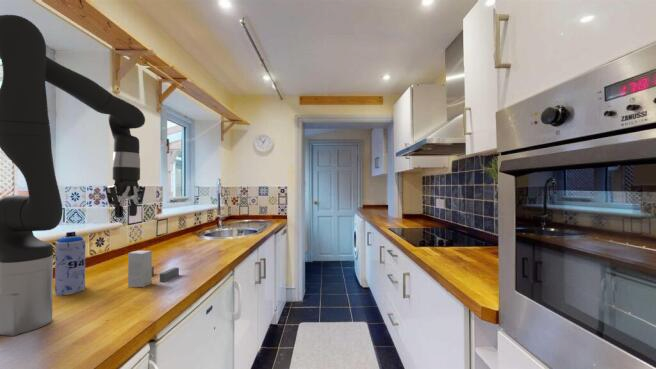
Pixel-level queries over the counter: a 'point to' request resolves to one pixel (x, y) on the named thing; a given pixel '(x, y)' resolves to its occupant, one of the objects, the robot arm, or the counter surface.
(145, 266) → the skincare box
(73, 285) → the aerosol can
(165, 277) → the charcoal cradle
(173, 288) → the counter surface
